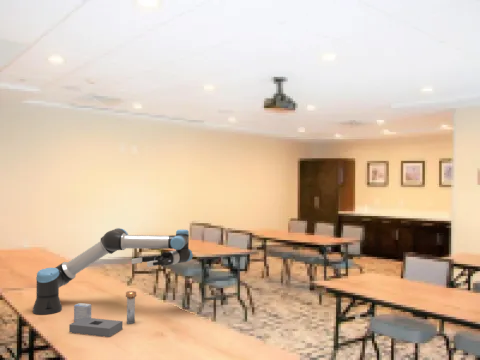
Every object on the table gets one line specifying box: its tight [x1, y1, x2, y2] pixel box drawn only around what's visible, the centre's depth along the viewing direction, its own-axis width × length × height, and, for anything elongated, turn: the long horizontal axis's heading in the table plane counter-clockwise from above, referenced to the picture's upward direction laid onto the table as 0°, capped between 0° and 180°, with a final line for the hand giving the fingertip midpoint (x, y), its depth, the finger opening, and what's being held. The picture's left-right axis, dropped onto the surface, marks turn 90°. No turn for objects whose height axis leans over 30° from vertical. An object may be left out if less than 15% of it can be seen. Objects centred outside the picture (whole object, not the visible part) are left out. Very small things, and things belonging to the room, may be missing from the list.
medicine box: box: [73, 302, 92, 322], centre depth 234 cm, size 8×4×9 cm, turn 74°
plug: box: [125, 290, 137, 325], centre depth 231 cm, size 5×5×16 cm
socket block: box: [68, 317, 124, 338], centre depth 218 cm, size 22×12×4 cm, turn 75°
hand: (139, 263), depth 239 cm, fingers open, 13 cm apart
